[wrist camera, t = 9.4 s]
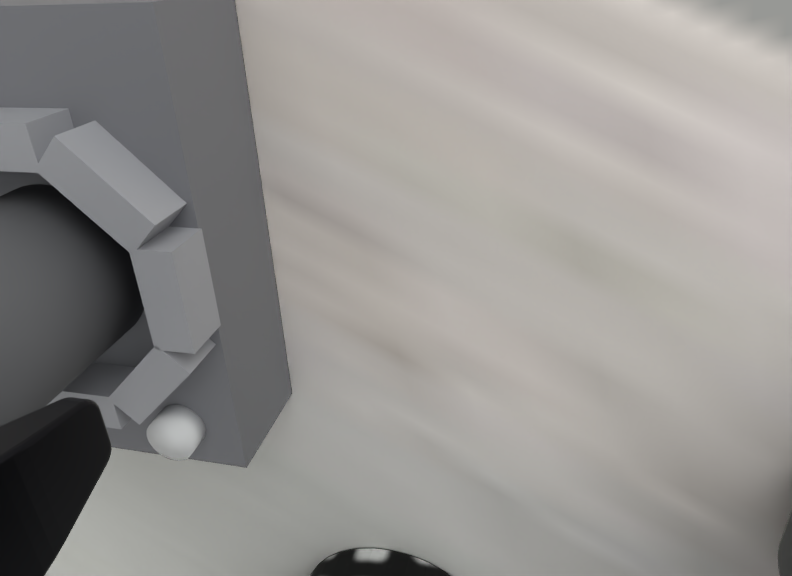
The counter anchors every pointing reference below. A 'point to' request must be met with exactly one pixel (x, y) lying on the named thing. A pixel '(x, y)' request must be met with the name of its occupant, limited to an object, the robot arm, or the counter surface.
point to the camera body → (157, 208)
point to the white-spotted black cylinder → (375, 564)
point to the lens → (56, 296)
